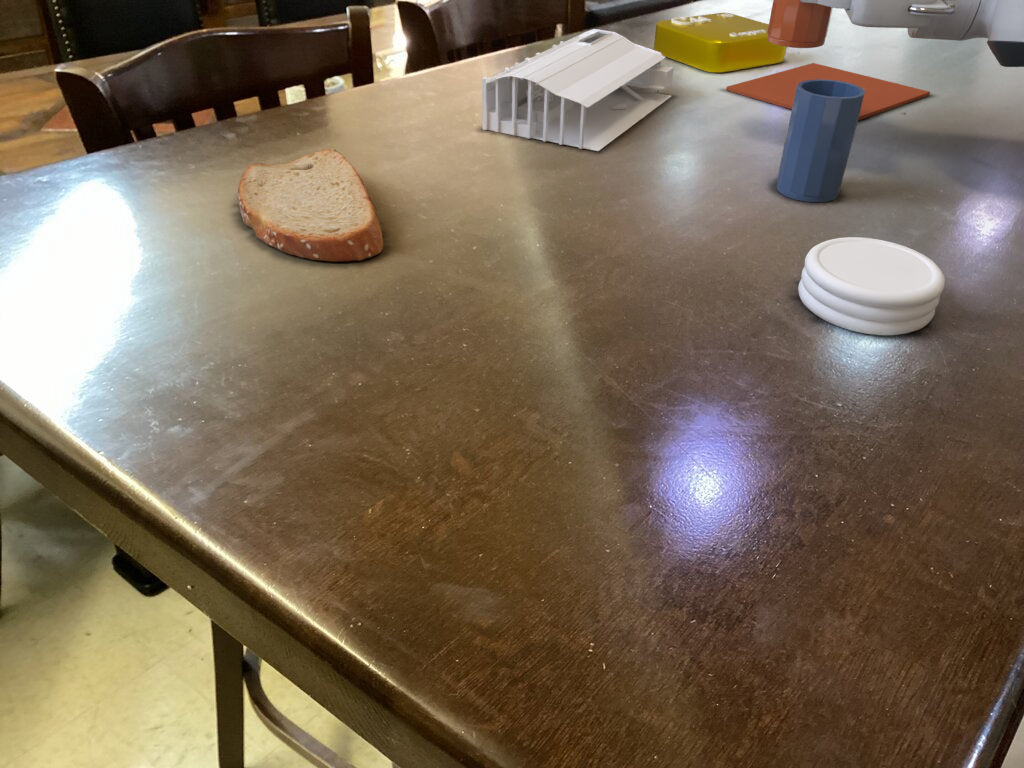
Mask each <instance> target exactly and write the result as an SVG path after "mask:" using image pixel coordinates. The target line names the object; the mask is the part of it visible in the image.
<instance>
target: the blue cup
mask: <svg viewBox="0 0 1024 768" xmlns="http://www.w3.org/2000/svg"><path fill="white" fill-rule="evenodd" d="M865 92H866V91H865V90H864V89H862V88H861V87H860V86H857V85H854V84H851V83H847V82H842V81H837V80H824V79H817V80H806V81H803V82H800V83H799V84H798V85H797V88H796V93H795V97H794V102H793V107H792V109H791V112H790V116H789V122H788V126H787V131H786V136H785V140H784V146H783V149H782V153H781V160H780V164H779V168H778V173H777V177H776V185H775V186H776V187H775V188H776V190H777V191H778V193H779V194H781V195H782V196H785V197H786V198H789V199H792V200H795V201H799V202H805V203H828V202H832V201H834V200H835V199H837V198H838V197H839V194H840V190H841V188H842V184H843V181H844V180H843V179H844V175H845V173H846V172H845V171H846V168H847V164H848V161H849V156H850V153H851V149H852V146H853V141H854V137H855V134H856V130H857V127H858V122H859V120H858V119H859V115H860V111H861V107H862V103H863V100H864V96H865Z"/></svg>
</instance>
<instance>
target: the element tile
mask: <svg viewBox="0 0 1024 768" xmlns="http://www.w3.org/2000/svg"><path fill="white" fill-rule="evenodd" d="M768 27H769V23H766V22H762V21H759V20H755V19H751V18H749V17H745V16H741V15H737V14H734V13H730V12H716V13H708V14H700V15H695V16H694V15H693V16H686V17H685V16H676V17H672V18H669V19H663V20H658V22H656V24H655V33H654V41H653V43H654V44H653V50H655V51H658V52H661V55H663V56H665V57H666V58H667V59H671V60H673V61H676V62H679V63H682V64H684V65H686V66H689V67H693V68H695V69H698V70H701V71H704V72H707V73H713V74H721V73H729V72H736V71H741V70H746V69H753V68H757V67H758V68H759V67H764V66H770V65H775V64H780V63H783V62H784V60H785V58H786V54H787V53H786V52H787V48H788V47H784V46H779V45H776V44H773V43H770V42H769V41H768V40H767V36H768V34H767V32H768Z"/></svg>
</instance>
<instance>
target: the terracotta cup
mask: <svg viewBox="0 0 1024 768" xmlns="http://www.w3.org/2000/svg"><path fill="white" fill-rule="evenodd" d="M833 9H834V8H832V7H828V6H824V5H820V4H815V3H803V2H801V1H800V0H772V5H771V9H770V10H771V11H770V17H769V21H768V24H769V27H768V32H767V34H768V36H767V40H768V41H769V42H770V43H773V44H776V45H779V46H784V47H787V48H793V49H814V48H819V47H822V46H824V45H825V41H826V38H827V35H828V31H829V28H830V22H831V18H832V13H833Z"/></svg>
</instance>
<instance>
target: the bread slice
mask: <svg viewBox="0 0 1024 768" xmlns="http://www.w3.org/2000/svg"><path fill="white" fill-rule="evenodd" d="M237 202H238V208H239V211H240V216H241V218H242V221H243V224H244V225H245V226H247V227H248V228H250V229H252V230H253V231H254V234H255V236H256V238H258V239H259V240H260V241H262V242H263V243H265V244H266V245H268V246H270V247H272V248H275V249H277V250H279V251H281V252H284V253H285V254H288V255H292V256H297V257H299V258H304V259H309V260H313V261H325V262H351V261H352V262H353V261H363V260H367V259H369V258H372V257H374V256H377V255H379V254H380V253H381V252H382V251H383V249H384V240H383V233H382V232H383V231H382V226H381V222H380V220H379V217H378V214H377V211H376V208H375V206H374V204H373V202H372V199H371V197H370V195H369V194H368V190H367V188H366V186H365V184H364V181H363V179H362V178H361V176H360V175H359V172H358V171H357V169H356V168H355V167H354V166H353V164H352V163H350V162H349V160H347V158H346V157H345V156H344V155H343V154H342V153H340V152H338V151H337V150H336V149H335V148H331V149H329V148H326V149H323V150H318V151H315V152H313V153H310V154H306V155H302V156H300V157H298V158H296V159H293V160H291V161H288V162H286V163H278V164H277V163H275V164H267V163H261V162H260V163H259V162H256V163H254V162H253V163H251V164H250V163H249V165H247V167H246V168H245V169H244V171H243V172H242V175H241V178H240V180H239V183H238V188H237Z"/></svg>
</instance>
